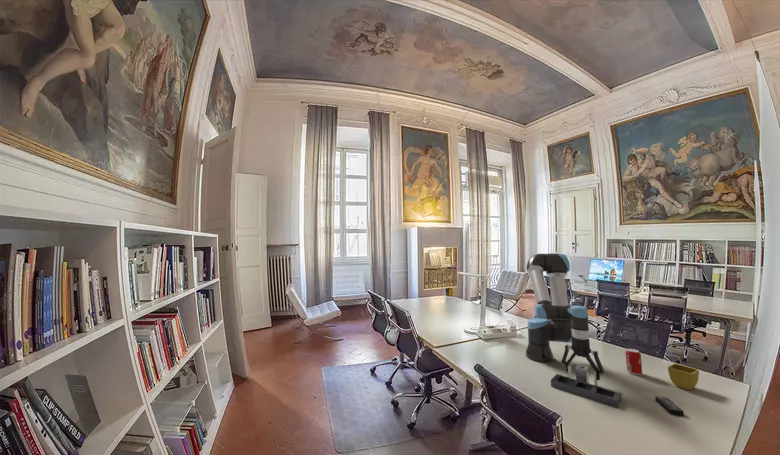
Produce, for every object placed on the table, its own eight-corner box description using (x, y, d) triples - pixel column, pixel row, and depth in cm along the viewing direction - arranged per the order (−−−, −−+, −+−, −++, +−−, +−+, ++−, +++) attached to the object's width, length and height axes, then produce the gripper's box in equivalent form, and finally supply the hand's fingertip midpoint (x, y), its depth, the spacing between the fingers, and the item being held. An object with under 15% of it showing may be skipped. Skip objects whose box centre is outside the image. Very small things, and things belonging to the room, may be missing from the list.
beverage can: (645, 376, 147) (643, 352, 148) (631, 375, 148) (629, 352, 149) (637, 371, 153) (635, 348, 154) (624, 370, 154) (622, 347, 155)
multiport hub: (670, 415, 114) (670, 409, 114) (655, 401, 124) (654, 395, 124) (684, 417, 112) (684, 411, 113) (667, 402, 123) (667, 397, 123)
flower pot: (693, 393, 129) (692, 373, 130) (668, 385, 137) (667, 366, 138) (700, 389, 133) (699, 369, 134) (675, 381, 141) (674, 363, 142)
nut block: (576, 383, 141) (575, 366, 141) (578, 380, 144) (577, 363, 144) (587, 386, 137) (586, 369, 138) (589, 383, 140) (588, 366, 141)
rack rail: (551, 386, 138) (550, 379, 138) (557, 380, 144) (556, 374, 144) (618, 408, 119) (617, 400, 119) (621, 399, 125) (621, 392, 125)
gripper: (552, 334, 148) (554, 377, 146) (606, 344, 131) (609, 393, 130) (557, 330, 153) (559, 372, 151) (610, 341, 136) (613, 388, 135)
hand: (582, 382), depth 140 cm, fingers open, 10 cm apart
